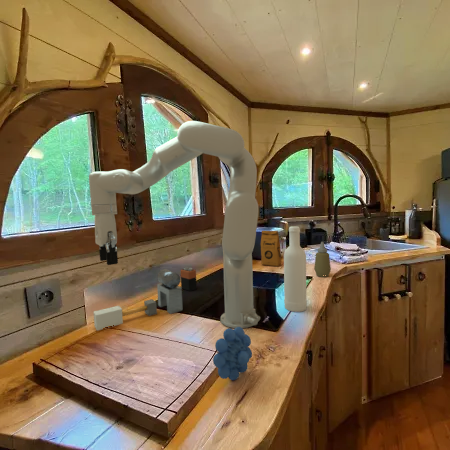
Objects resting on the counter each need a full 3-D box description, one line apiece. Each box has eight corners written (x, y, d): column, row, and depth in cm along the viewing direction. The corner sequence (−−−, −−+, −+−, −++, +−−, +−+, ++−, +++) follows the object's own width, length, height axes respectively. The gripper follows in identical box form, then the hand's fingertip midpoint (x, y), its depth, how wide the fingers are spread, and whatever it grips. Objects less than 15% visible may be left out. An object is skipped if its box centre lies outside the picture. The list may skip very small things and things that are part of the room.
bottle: (287, 302, 103) (286, 225, 100) (308, 305, 99) (307, 225, 97) (282, 310, 95) (280, 227, 93) (304, 313, 92) (303, 227, 90)
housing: (183, 310, 99) (181, 272, 98) (169, 314, 95) (167, 275, 94) (170, 302, 108) (168, 267, 107) (157, 305, 104) (155, 269, 103)
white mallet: (156, 313, 96) (156, 300, 96) (97, 330, 84) (95, 315, 84) (152, 310, 99) (152, 297, 99) (94, 326, 87) (93, 311, 87)
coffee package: (277, 267, 160) (276, 231, 158) (259, 265, 167) (258, 231, 165) (283, 264, 168) (283, 230, 166) (265, 262, 175) (265, 229, 173)
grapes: (230, 403, 51) (228, 343, 50) (207, 387, 56) (205, 332, 55) (265, 374, 60) (264, 323, 59) (242, 362, 64) (241, 315, 63)
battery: (189, 291, 120) (188, 269, 120) (180, 288, 125) (179, 267, 125) (197, 289, 123) (196, 268, 123) (188, 286, 128) (187, 266, 128)
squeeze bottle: (313, 277, 136) (313, 242, 135) (314, 273, 144) (314, 240, 143) (330, 278, 133) (330, 243, 132) (330, 274, 141) (330, 240, 139)
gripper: (87, 211, 91) (91, 260, 92) (97, 210, 77) (102, 268, 78) (110, 210, 95) (113, 257, 97) (124, 209, 81) (128, 264, 83)
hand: (108, 262), depth 87 cm, fingers open, 9 cm apart
